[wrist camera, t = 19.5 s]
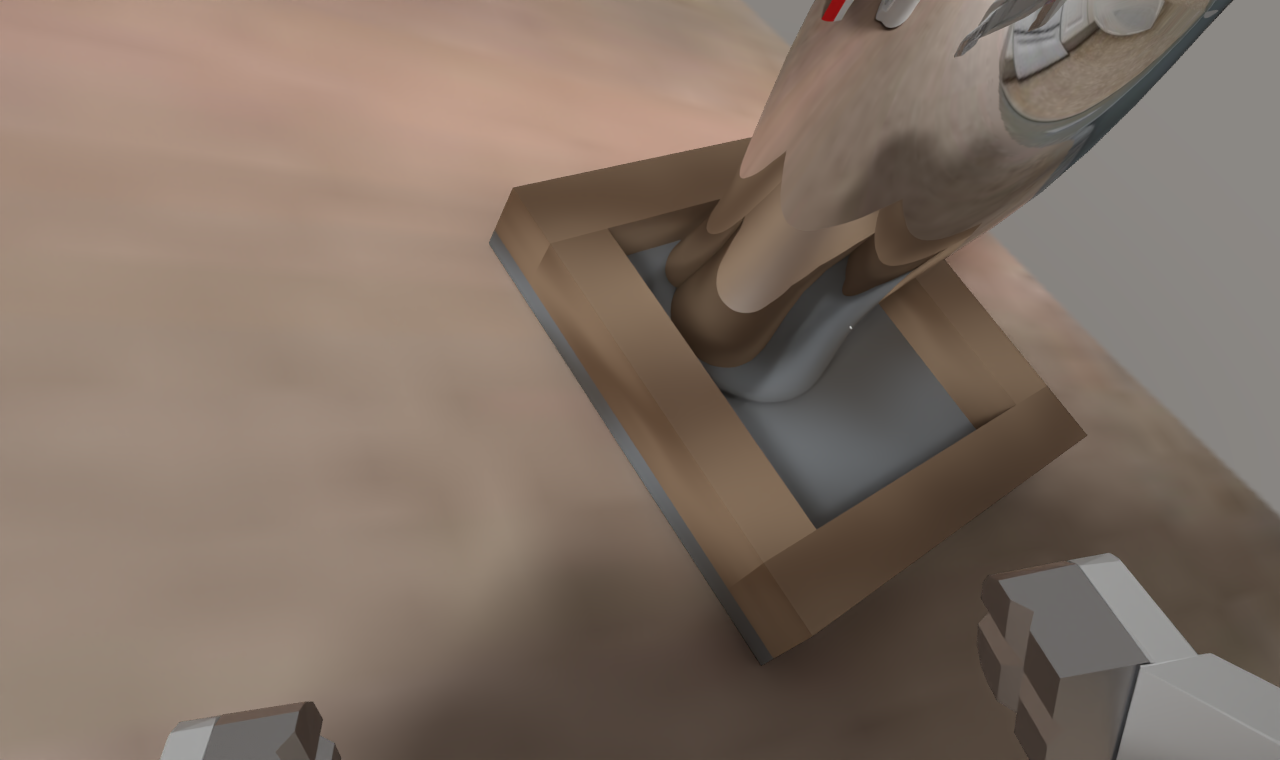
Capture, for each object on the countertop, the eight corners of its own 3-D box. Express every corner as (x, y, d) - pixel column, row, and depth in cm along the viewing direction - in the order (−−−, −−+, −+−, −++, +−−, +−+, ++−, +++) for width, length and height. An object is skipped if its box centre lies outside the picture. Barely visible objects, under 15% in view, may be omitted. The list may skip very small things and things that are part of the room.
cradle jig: (488, 243, 27) (513, 187, 25) (796, 166, 35) (831, 120, 34) (761, 665, 23) (812, 636, 22) (1033, 468, 32) (1087, 435, 30)
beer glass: (622, 372, 26) (990, -133, 14) (648, 203, 30) (950, -293, 19) (836, 448, 28) (1314, 51, 16) (833, 278, 32) (1211, -132, 20)
